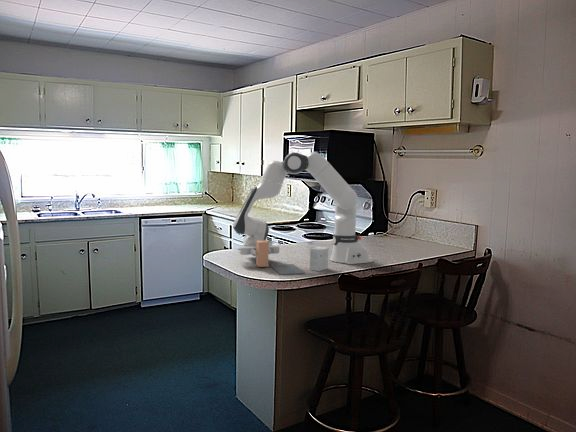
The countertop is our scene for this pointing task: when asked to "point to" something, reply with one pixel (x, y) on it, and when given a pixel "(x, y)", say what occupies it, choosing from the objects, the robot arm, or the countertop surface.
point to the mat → (287, 269)
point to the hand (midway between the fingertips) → (262, 252)
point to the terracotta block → (262, 253)
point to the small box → (319, 258)
